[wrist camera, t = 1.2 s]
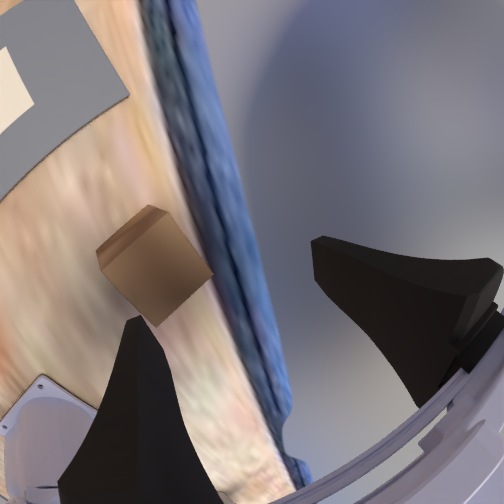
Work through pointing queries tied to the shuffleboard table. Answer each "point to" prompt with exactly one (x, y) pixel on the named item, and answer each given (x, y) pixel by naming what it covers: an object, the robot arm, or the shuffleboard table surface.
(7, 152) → the board
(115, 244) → the walnut block
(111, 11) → the shuffleboard table surface
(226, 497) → the house plant
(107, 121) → the shuffleboard table surface
